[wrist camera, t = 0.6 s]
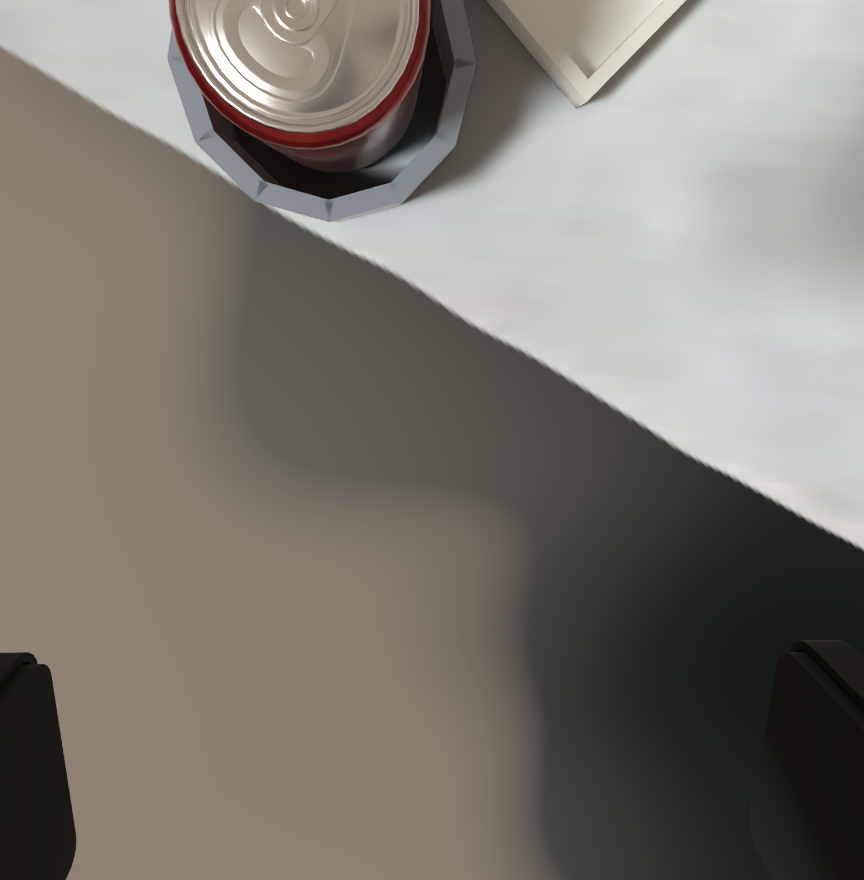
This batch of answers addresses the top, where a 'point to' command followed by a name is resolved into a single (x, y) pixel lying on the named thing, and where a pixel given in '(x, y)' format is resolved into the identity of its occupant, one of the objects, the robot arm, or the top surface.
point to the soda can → (309, 71)
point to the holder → (262, 187)
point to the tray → (583, 36)
